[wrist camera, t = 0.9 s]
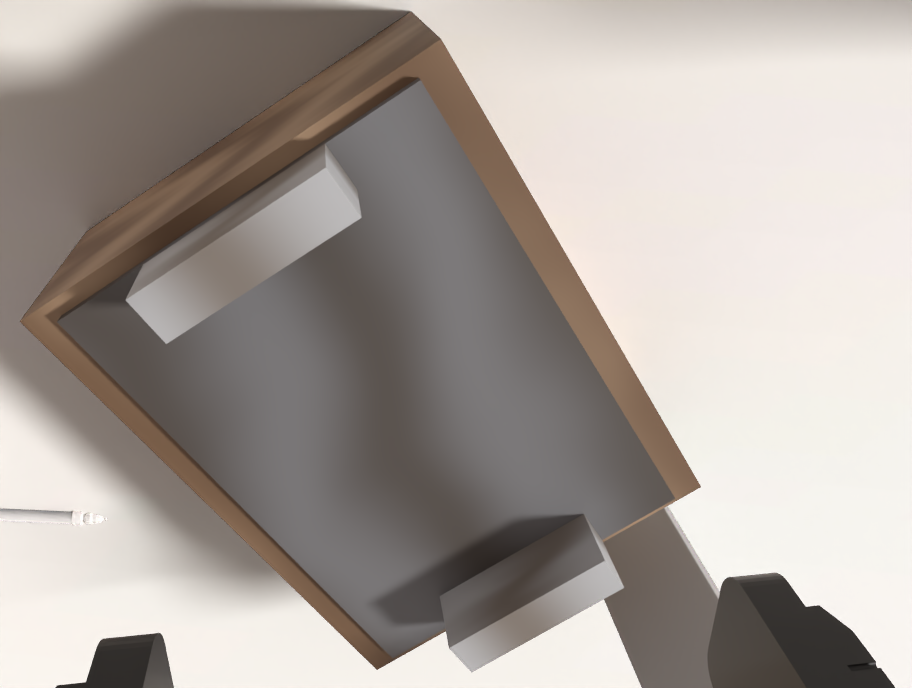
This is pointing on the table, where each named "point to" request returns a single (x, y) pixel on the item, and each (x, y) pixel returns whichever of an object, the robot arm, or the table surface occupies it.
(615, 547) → the vintage mobile phone
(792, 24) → the table surface
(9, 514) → the picture light
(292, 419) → the tray
